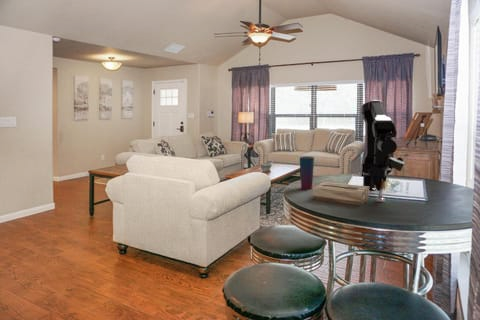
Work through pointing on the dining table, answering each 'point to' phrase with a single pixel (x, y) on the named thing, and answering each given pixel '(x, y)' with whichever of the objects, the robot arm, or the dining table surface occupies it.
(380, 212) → the dining table surface
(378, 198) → the peg
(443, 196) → the dining table surface
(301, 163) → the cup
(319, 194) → the keyhole track
